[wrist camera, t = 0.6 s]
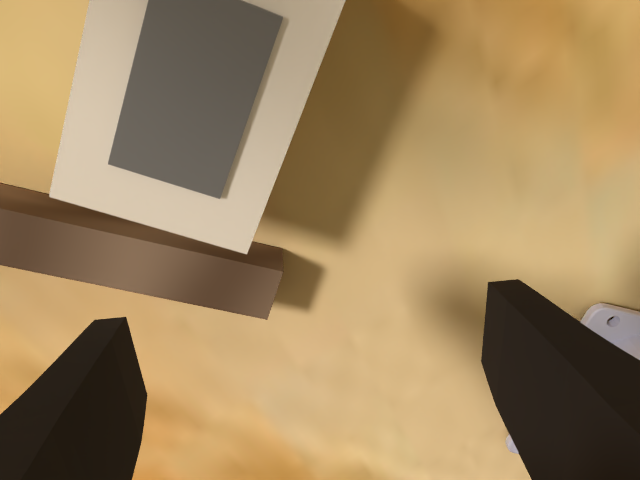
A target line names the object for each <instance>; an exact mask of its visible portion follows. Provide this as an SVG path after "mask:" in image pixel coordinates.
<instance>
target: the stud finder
mask: <svg viewBox="0 0 640 480" xmlns="http://www.w3.org/2000/svg"><path fill="white" fill-rule="evenodd" d="M345 1H346V0H90V1H89V5H88V10H87V15H86V20H85V25H84V30H83V34H82V39H81V44H80V49H79V54H78V59H77V63H76V68H75V73H74V78H73V83H72V88H71V92H70V97H69V102H68V107H67V112H66V117H65V121H64V126H63V131H62V136H61V141H60V146H59V150H58V155H57V160H56V165H55V170H54V175H53V179H52V184H51V189H50V194H49V197H51V198H55V199H58V200H62V201H65V202H68V203H72V204H75V205H79V206H82V207H86V208H89V209H93V210H96V211H99V212H103V213H106V214H110V215H113V216H117V217H120V218H123V219H127V220H130V221H134V222H137V223H141V224H144V225H147V226H151V227H154V228H158V229H161V230H165V231H168V232H171V233H175V234H178V235H182V236H185V237H189V238H192V239H196V240H199V241H202V242H206V243H209V244H213V245H216V246H220V247H223V248H226V249H230V250H233V251H237V252H240V253H244V254H247V253H248V250H249V248H250V245H251V243H252V240H253V237H254V235H255V232H256V230H257V227H258V225H259V222H260V219H261V217H262V214H263V212H264V209H265V207H266V204H267V201H268V199H269V196H270V194H271V191H272V188H273V186H274V183H275V181H276V178H277V176H278V173H279V170H280V168H281V165H282V163H283V160H284V158H285V155H286V152H287V150H288V147H289V145H290V142H291V140H292V137H293V134H294V132H295V129H296V127H297V124H298V122H299V119H300V116H301V114H302V111H303V109H304V106H305V104H306V101H307V98H308V96H309V93H310V91H311V88H312V85H313V83H314V80H315V78H316V75H317V73H318V70H319V67H320V65H321V62H322V60H323V57H324V55H325V52H326V49H327V47H328V44H329V42H330V39H331V37H332V34H333V31H334V29H335V26H336V24H337V21H338V19H339V16H340V13H341V11H342V8H343V6H344V3H345Z"/></svg>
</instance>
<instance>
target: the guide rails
mask: <svg viewBox="0 0 640 480" xmlns="http://www.w3.org/2000/svg"><path fill="white" fill-rule="evenodd" d="M0 265H3V266H8V267H12V268H17V269H22V270H27V271H32V272H37V273H42V274H47V275H52V276H56V277H61V278H66V279H71V280H76V281H81V282H86V283H91V284H96V285H100V286H105V287H110V288H115V289H120V290H125V291H130V292H135V293H139V294H144V295H149V296H154V297H159V298H164V299H169V300H174V301H179V302H183V303H188V304H193V305H198V306H203V307H208V308H213V309H218V310H223V311H227V312H232V313H237V314H242V315H247V316H252V317H257V318H262V319H266V320H267V319H268V316H269V313H270V310H271V307H272V304H273V301H274V298H275V295H276V292H277V289H278V286H279V283H280V280H281V277H282V275H283V255H282V248H277V247H273V246H269V245H264V244H260V243H256V242H252V243H251V245H250V248H249V250H248V253H247V254H244V253H240V252H237V251H233V250H230V249H226V248H223V247H220V246H216V245H213V244H209V243H206V242H202V241H199V240H196V239H192V238H189V237H185V236H182V235H178V234H175V233H171V232H168V231H165V230H161V229H158V228H154V227H151V226H147V225H144V224H141V223H137V222H134V221H130V220H127V219H123V218H120V217H117V216H113V215H110V214H106V213H103V212H99V211H96V210H93V209H89V208H86V207H82V206H79V205H75V204H72V203H68V202H65V201H62V200H58V199H55V198H51V197H49V194H45V193H40V192H36V191H32V190H27V189H23V188H19V187H15V186H10V185H6V184H2V183H0Z"/></svg>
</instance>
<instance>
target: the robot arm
mask: <svg viewBox="0 0 640 480" xmlns="http://www.w3.org/2000/svg"><path fill="white" fill-rule="evenodd" d="M613 316H614V317H613ZM610 317H613V318H612V319H611V320H609V321H607V320H608V319H609V318H610ZM481 362H482V365H483V368H484V371H485V375H486V378H487V381H488V384H489V387H490V390H491V393H492V396H493V399H494V402H495V404H496V407H497V409H498V411H499V413H500V415H501V417H502V420H503V422H504V424H505V426H506V428H507V430H508V432H509V435H508V436H507V438H506V441H505V442H506V445H507V448H508V450H509V451H510V452H513V453H517V454H519V455H520V457H521V459H522V461H523V463H524V465H525V467H526V469H527V471H528V473H529V475H530V477H531V479H532V480H640V312H639V311H635V310H631V309H626V308H622V307H618V306H614V305H610V304H606V303H598V304H595V305H593V306H591V307H590V308H589V309H588V310H587V312H586V313H585V315H584V316H583V318H582V320H581V321H580V322H579V321H578V320H576V319H575V318H573V317H572V316H570V315H569V314H568V313H566V312H565V311H563V310H562V309H560V308H559V307H558V306H556V305H555V304H553V303H552V302H551V301H549V300H548V299H546V298H545V297H544V296H542V295H541V294H539V293H538V292H536V291H535V290H534V289H532V288H531V287H529V286H528V285H526V284H525V283H523V282H522V281H520V280H518V279H517V280H507V281H496V282H488V291H487V302H486V314H485V325H484V336H483V348H482V359H481ZM146 401H147V392H146V389H145V385H144V381H143V378H142V374H141V370H140V367H139V363H138V359H137V356H136V352H135V348H134V345H133V341H132V337H131V333H130V330H129V326H128V322H127V319H126V317H121V318H110V319H100V320H94V321H93V322H92V323H91V324H90V325H89V326H88V327H87V328H86V329H85V330H84V331H83V332H82V333H81V334H80V335H79V336H78V338H77V339H76V340H75V341H74V342H73V343H72V344H71V345H70V346H69V347H68V348H67V349H66V350H65V351H64V352H63V353H62V354H61V355H60V357H59V358H58V359H57V360H56V361H55V362H54V363H53V364H52V365H51V366H50V367H49V368H48V369H47V370H46V371H45V372H44V373H43V374H42V375H41V376H40V377H39V378H38V379H37V380H36V381H35V382H34V383H33V384H32V385H31V386H30V387H29V388H28V389H27V390H26V391H25V392H24V393H23V394H22V395H21V396H20V397H19V398H18V399H17V400H15V401H14V402H13V403H12V404H11V405H10V406H9V407H8V408H7V409H6V410H5V411H4V412H3V413H2V414H0V480H132V477H133V473H134V469H135V465H136V461H137V457H138V453H139V449H140V445H141V441H142V433H143V426H144V419H145V410H146Z"/></svg>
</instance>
